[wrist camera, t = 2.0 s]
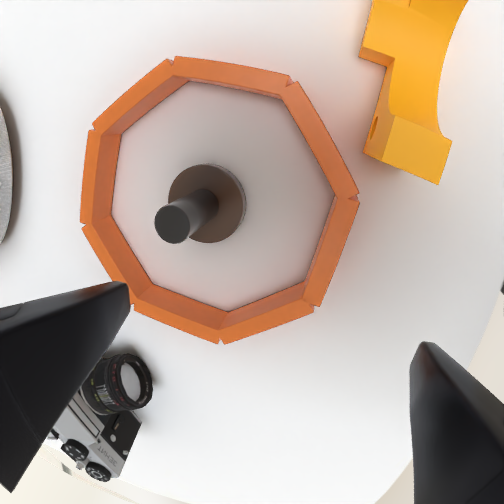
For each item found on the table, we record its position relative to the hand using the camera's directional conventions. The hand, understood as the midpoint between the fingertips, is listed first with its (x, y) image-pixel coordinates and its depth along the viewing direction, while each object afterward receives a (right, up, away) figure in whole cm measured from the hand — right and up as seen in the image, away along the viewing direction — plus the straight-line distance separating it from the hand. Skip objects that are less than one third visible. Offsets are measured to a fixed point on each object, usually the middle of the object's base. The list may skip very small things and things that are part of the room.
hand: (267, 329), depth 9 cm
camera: (-14, -10, +20) cm, 27 cm away
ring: (-3, +5, +11) cm, 13 cm away
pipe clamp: (+8, +13, +6) cm, 16 cm away
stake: (-3, +5, +11) cm, 13 cm away
